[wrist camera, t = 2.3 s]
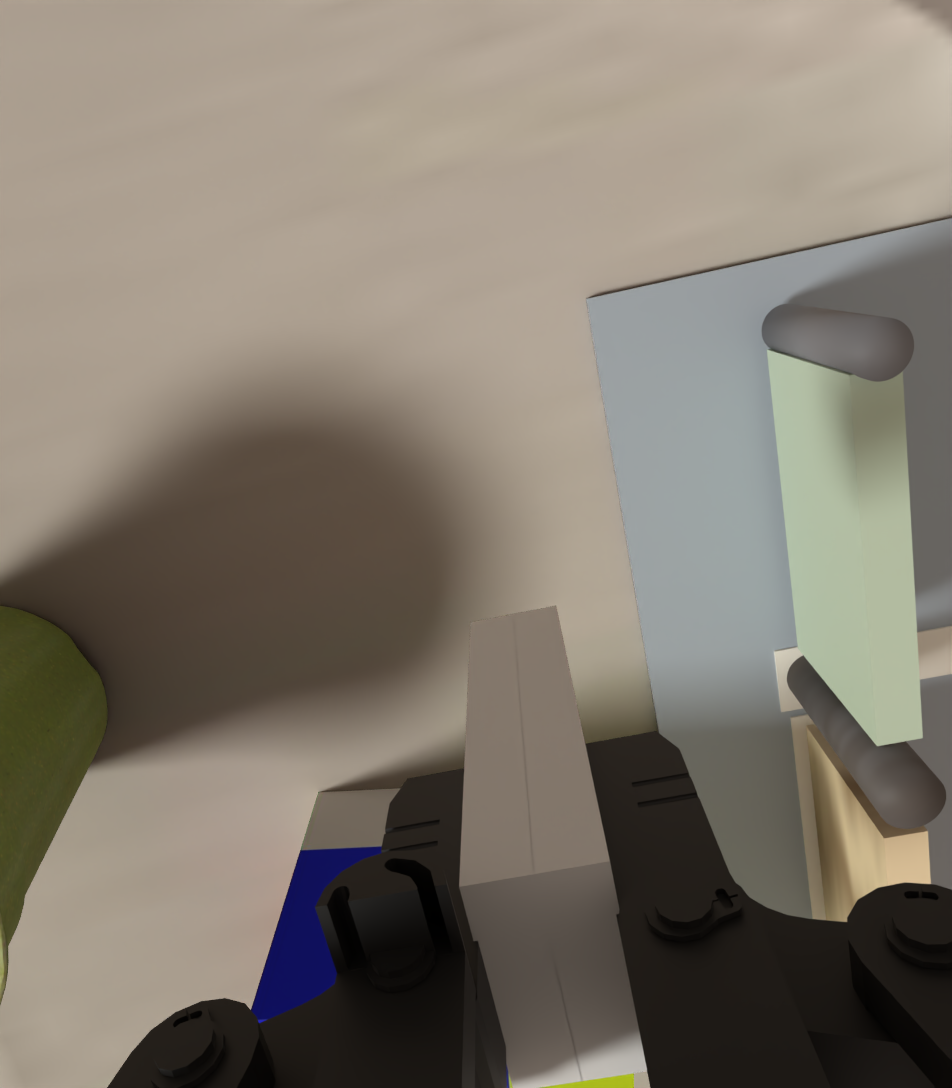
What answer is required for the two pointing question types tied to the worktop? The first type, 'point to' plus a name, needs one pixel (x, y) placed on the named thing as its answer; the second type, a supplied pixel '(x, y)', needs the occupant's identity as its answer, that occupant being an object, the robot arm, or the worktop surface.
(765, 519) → the card
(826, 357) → the fence panel
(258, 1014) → the puzzle toy
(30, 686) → the plant pot
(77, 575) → the worktop surface
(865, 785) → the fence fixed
